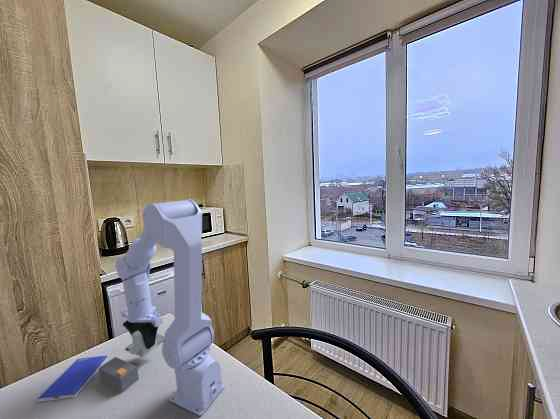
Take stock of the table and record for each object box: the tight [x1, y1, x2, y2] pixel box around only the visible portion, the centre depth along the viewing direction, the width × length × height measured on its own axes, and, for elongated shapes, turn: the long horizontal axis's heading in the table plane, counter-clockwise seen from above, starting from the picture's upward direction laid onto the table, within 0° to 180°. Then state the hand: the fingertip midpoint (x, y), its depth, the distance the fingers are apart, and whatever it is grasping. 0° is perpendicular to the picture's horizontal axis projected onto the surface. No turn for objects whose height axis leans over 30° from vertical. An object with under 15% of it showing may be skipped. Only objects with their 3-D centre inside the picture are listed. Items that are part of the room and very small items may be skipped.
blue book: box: [37, 355, 109, 403], centre depth 62 cm, size 2×8×12 cm
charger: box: [129, 331, 158, 357], centre depth 66 cm, size 4×6×6 cm
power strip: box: [98, 356, 140, 393], centre depth 60 cm, size 9×4×4 cm, turn 64°
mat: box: [125, 333, 165, 350], centre depth 74 cm, size 8×8×1 cm
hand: (145, 344), depth 67 cm, fingers closed on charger, 4 cm apart
